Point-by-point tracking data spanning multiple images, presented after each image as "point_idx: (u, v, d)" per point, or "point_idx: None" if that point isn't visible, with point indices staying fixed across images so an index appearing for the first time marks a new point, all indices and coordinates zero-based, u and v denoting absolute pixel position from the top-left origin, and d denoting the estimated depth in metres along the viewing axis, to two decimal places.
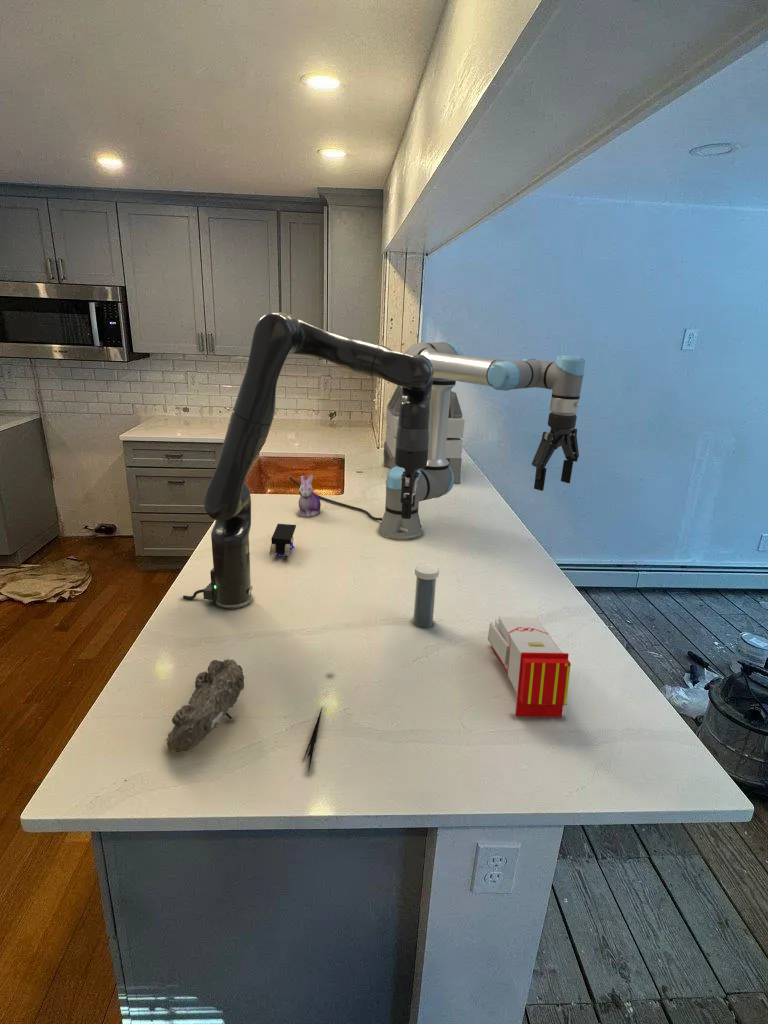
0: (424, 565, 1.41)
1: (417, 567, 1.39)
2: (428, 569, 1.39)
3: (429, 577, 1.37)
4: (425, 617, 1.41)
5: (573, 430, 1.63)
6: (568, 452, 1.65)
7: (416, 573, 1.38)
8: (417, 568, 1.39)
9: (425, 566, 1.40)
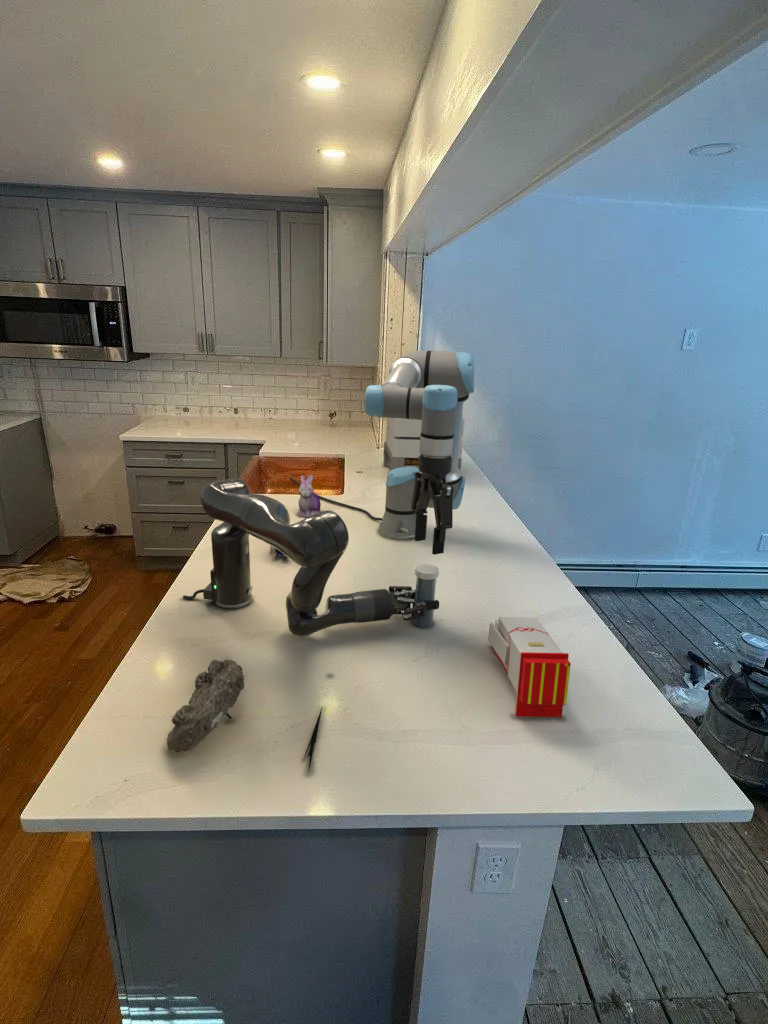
0: (424, 565, 1.41)
1: (417, 567, 1.39)
2: (428, 569, 1.39)
3: (429, 577, 1.37)
4: (425, 617, 1.41)
5: None
6: (426, 502, 1.37)
7: (416, 573, 1.38)
8: (417, 568, 1.39)
9: (425, 566, 1.40)
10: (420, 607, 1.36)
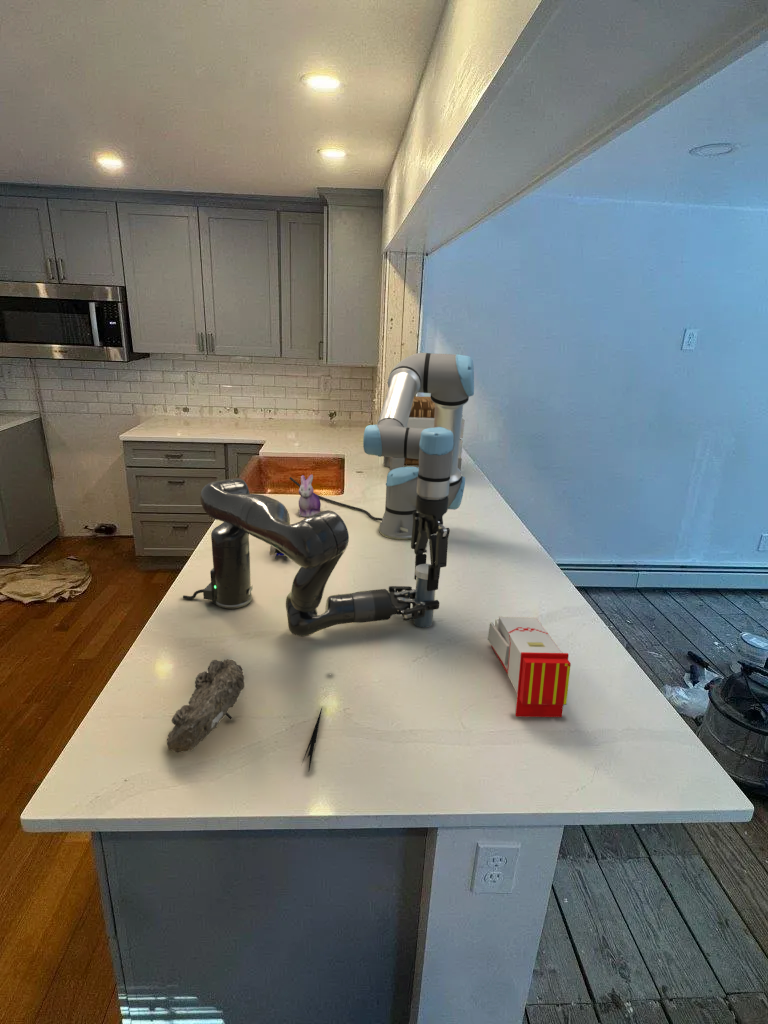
0: (424, 565, 1.41)
1: (417, 567, 1.39)
2: None
3: None
4: (425, 617, 1.41)
5: None
6: (425, 541, 1.39)
7: (416, 573, 1.38)
8: (417, 568, 1.39)
9: (425, 566, 1.40)
10: (420, 607, 1.36)
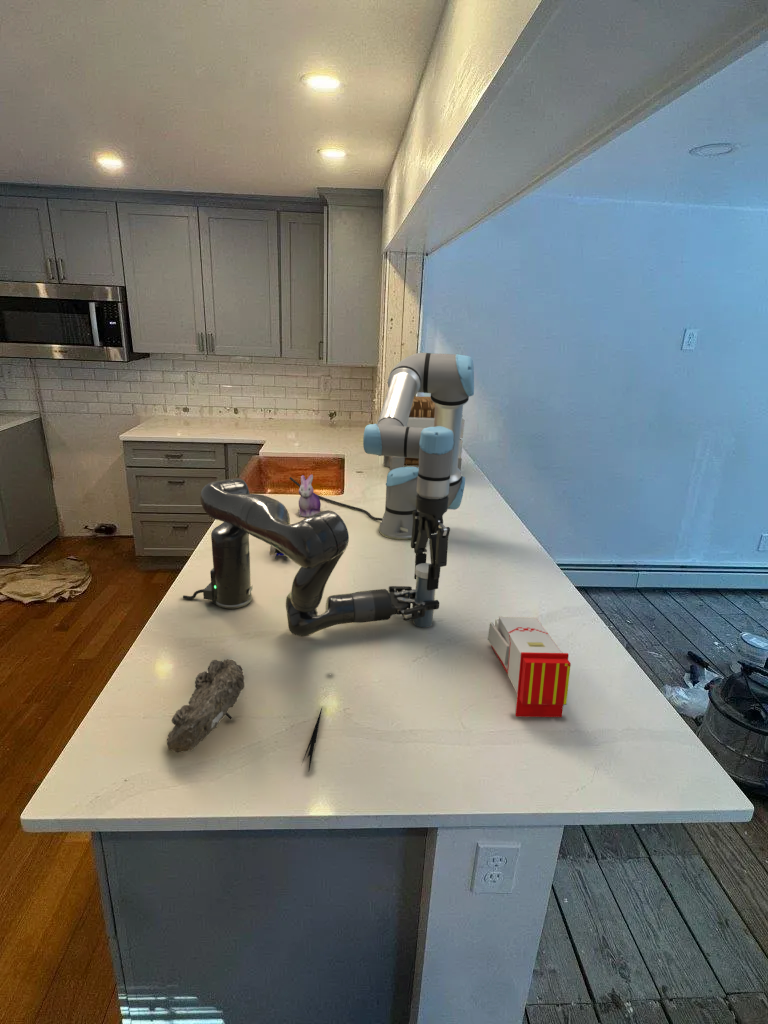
0: (421, 569, 1.38)
1: None
2: (427, 567, 1.39)
3: None
4: (425, 617, 1.41)
5: None
6: (425, 540, 1.39)
7: None
8: None
9: (423, 569, 1.38)
10: (420, 607, 1.36)
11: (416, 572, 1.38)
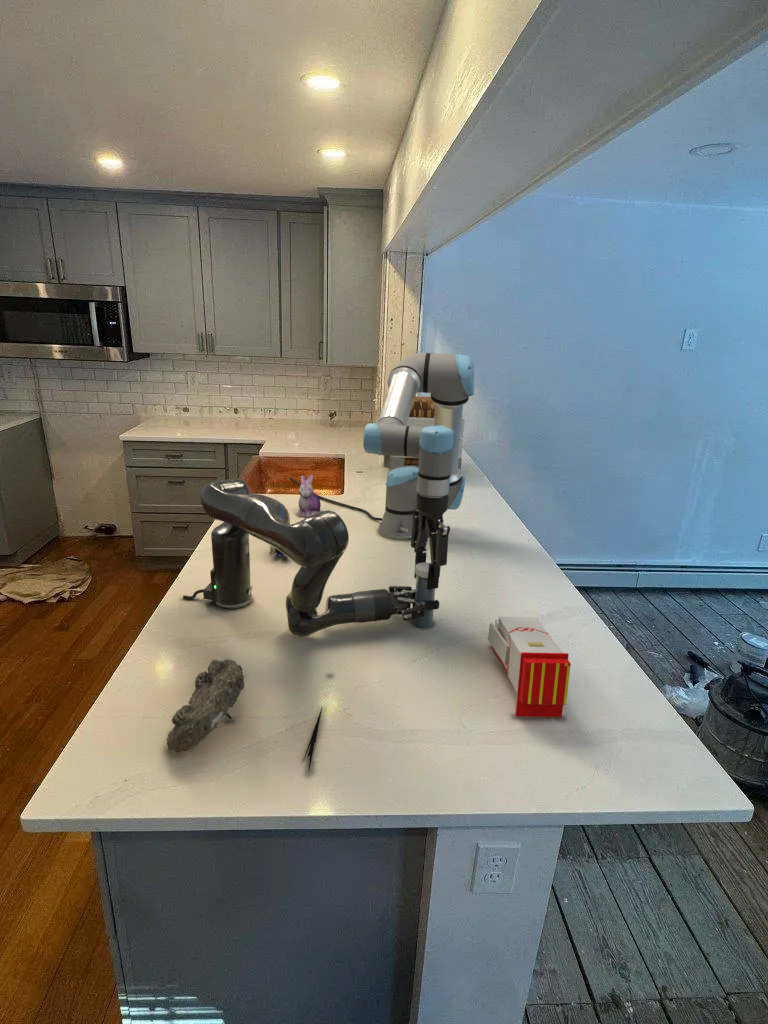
0: None
1: None
2: (424, 567, 1.39)
3: None
4: (425, 617, 1.41)
5: None
6: (425, 540, 1.39)
7: None
8: None
9: None
10: (420, 607, 1.36)
11: None
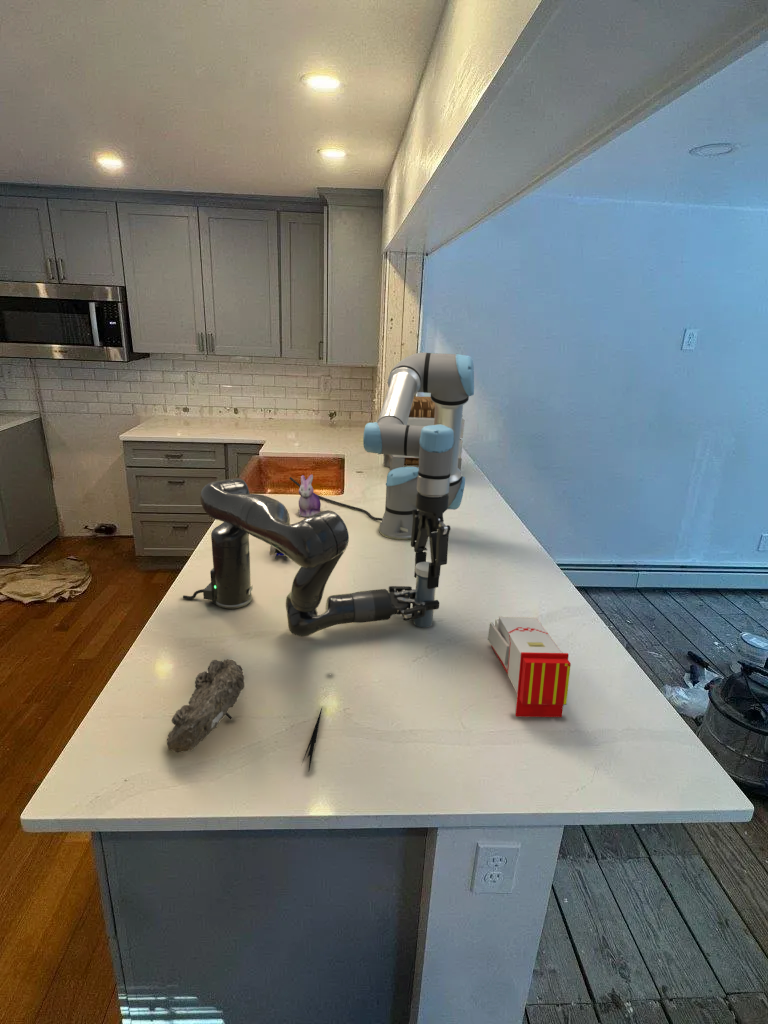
0: (426, 563, 1.41)
1: (418, 564, 1.40)
2: (428, 567, 1.38)
3: (426, 575, 1.36)
4: (425, 617, 1.41)
5: None
6: (425, 539, 1.39)
7: (415, 569, 1.39)
8: (417, 565, 1.39)
9: (427, 564, 1.40)
10: (420, 607, 1.36)
11: None
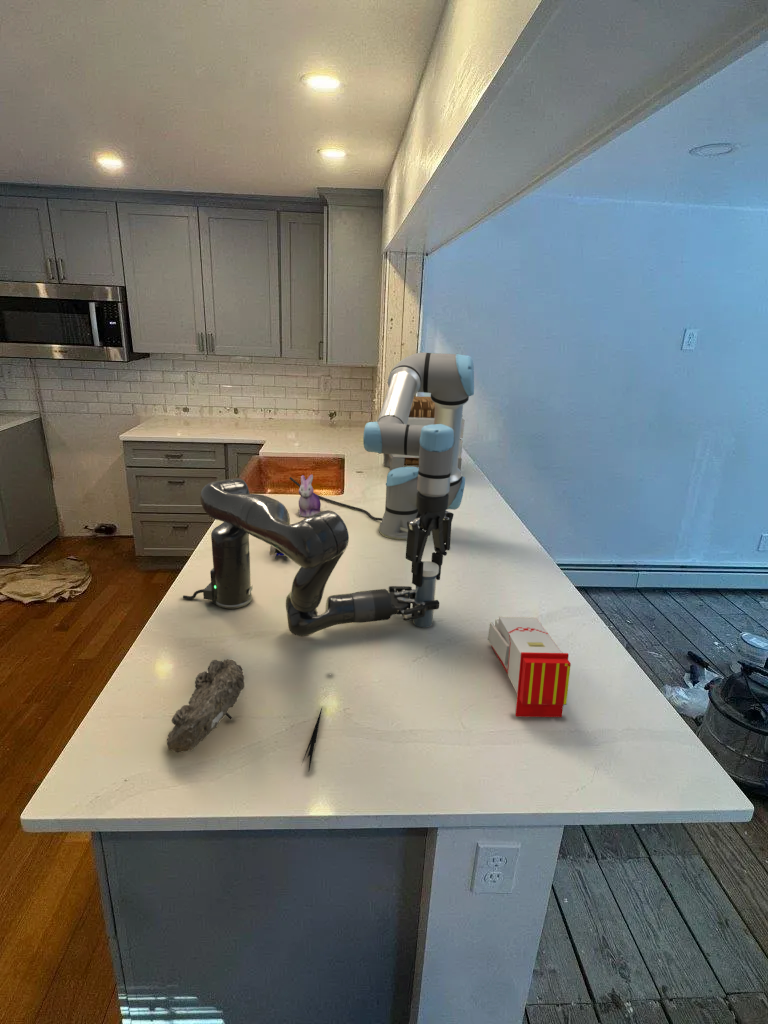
0: None
1: (425, 569, 1.37)
2: (428, 565, 1.39)
3: None
4: (425, 617, 1.41)
5: None
6: None
7: (431, 573, 1.37)
8: (427, 570, 1.37)
9: None
10: (420, 607, 1.36)
11: None
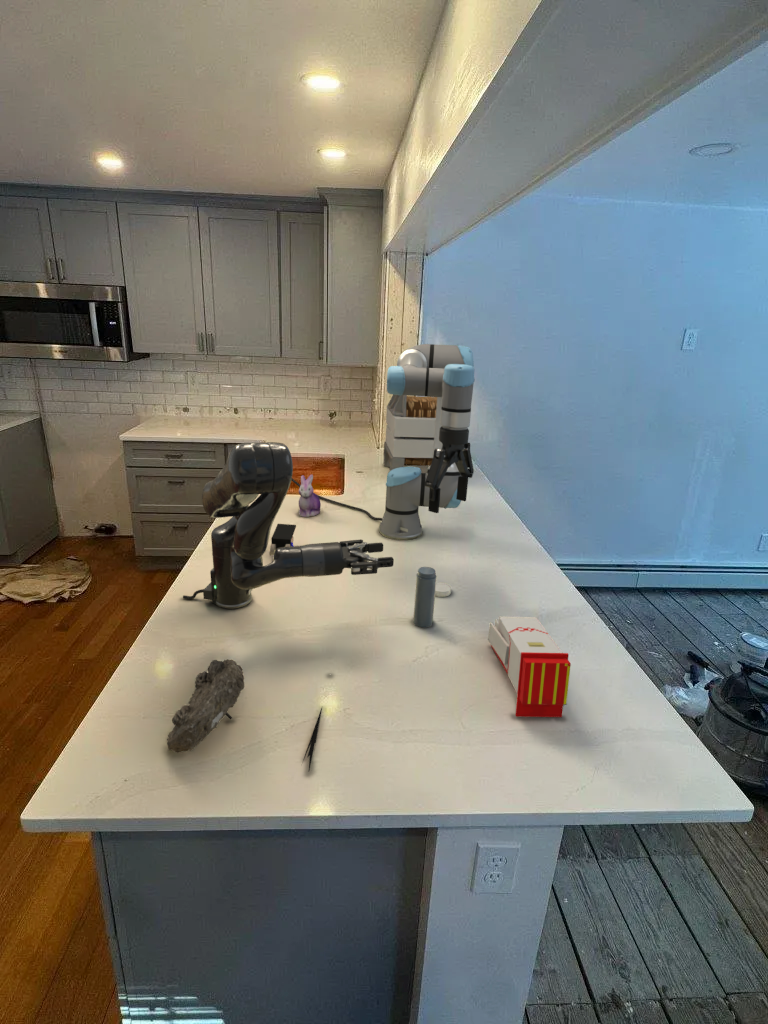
0: None
1: (440, 590, 1.57)
2: (442, 586, 1.60)
3: None
4: (425, 617, 1.41)
5: None
6: None
7: (446, 593, 1.58)
8: (443, 590, 1.57)
9: (436, 587, 1.59)
10: (371, 563, 1.26)
11: None
